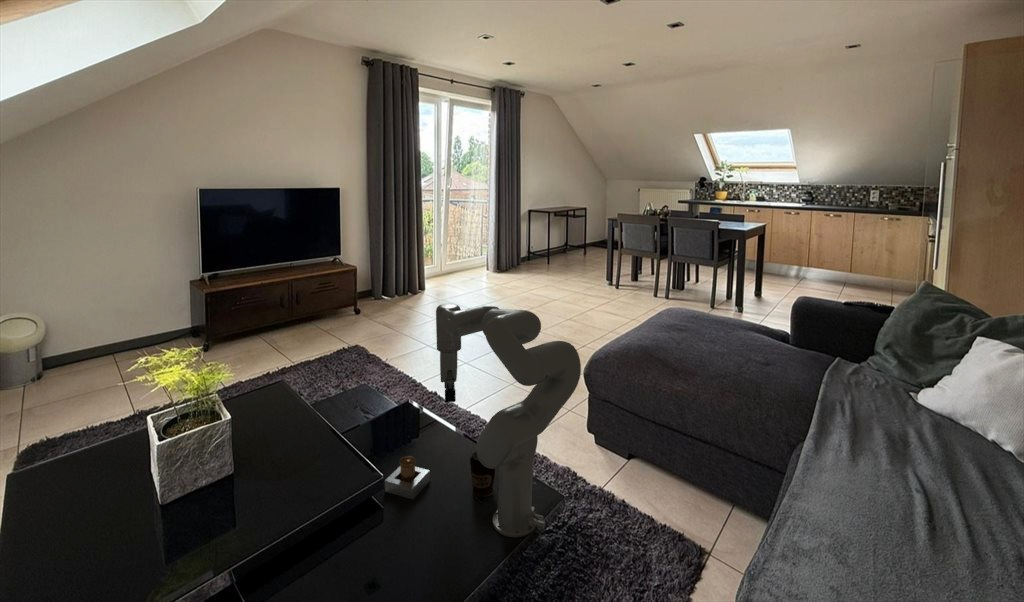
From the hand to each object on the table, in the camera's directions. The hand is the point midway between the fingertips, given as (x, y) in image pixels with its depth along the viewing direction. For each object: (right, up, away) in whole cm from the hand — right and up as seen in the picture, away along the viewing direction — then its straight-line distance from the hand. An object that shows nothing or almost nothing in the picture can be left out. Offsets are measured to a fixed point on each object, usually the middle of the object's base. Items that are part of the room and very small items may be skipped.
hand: (449, 394), depth 156 cm
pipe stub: (-13, -29, 0) cm, 32 cm away
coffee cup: (+11, -30, -2) cm, 32 cm away
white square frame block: (-13, -29, 0) cm, 32 cm away
